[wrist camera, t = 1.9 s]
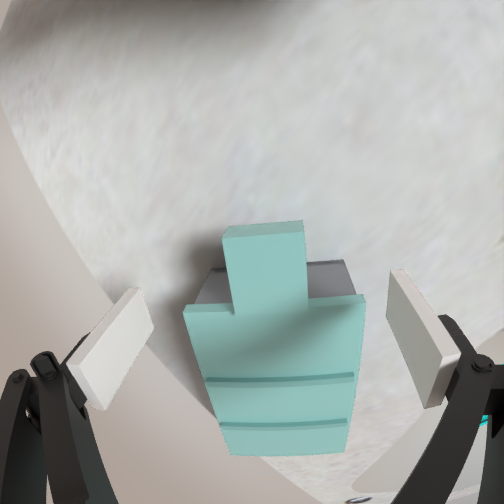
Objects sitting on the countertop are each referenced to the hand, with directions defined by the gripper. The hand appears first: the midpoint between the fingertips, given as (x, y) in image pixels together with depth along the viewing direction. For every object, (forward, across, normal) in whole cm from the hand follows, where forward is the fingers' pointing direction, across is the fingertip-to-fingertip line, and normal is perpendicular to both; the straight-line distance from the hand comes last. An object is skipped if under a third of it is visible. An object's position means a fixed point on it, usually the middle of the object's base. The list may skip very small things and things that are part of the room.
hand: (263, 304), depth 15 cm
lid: (+5, 0, -9) cm, 10 cm away
